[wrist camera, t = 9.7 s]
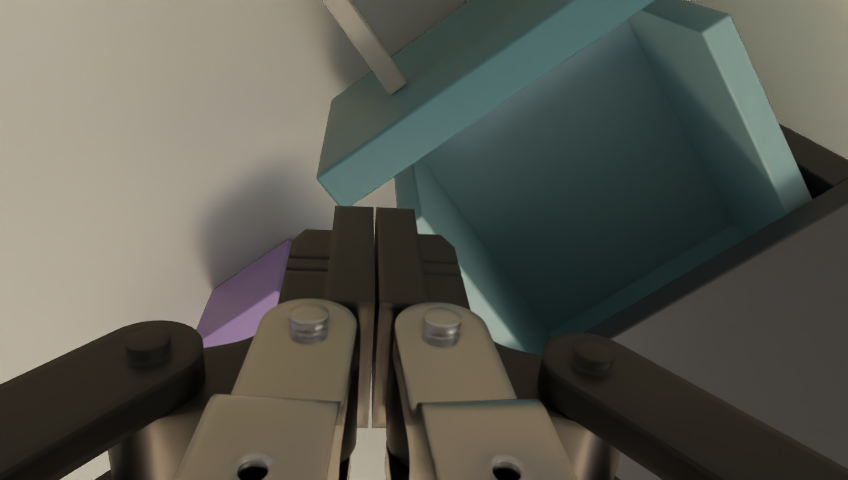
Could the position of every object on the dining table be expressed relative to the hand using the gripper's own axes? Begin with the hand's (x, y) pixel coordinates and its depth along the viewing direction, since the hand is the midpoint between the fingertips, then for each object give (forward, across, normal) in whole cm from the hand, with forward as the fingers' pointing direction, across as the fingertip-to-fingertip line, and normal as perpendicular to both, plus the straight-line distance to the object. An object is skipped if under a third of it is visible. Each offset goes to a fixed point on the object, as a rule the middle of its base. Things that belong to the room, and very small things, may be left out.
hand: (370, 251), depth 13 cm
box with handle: (+13, -6, 0) cm, 14 cm away
